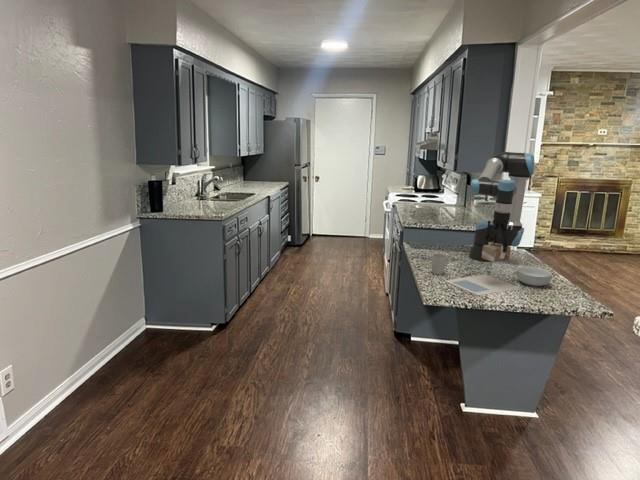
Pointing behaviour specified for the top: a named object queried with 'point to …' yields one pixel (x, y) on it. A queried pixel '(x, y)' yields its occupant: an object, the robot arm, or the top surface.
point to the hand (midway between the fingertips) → (495, 256)
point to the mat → (481, 284)
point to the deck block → (494, 252)
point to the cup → (438, 263)
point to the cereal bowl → (533, 276)
